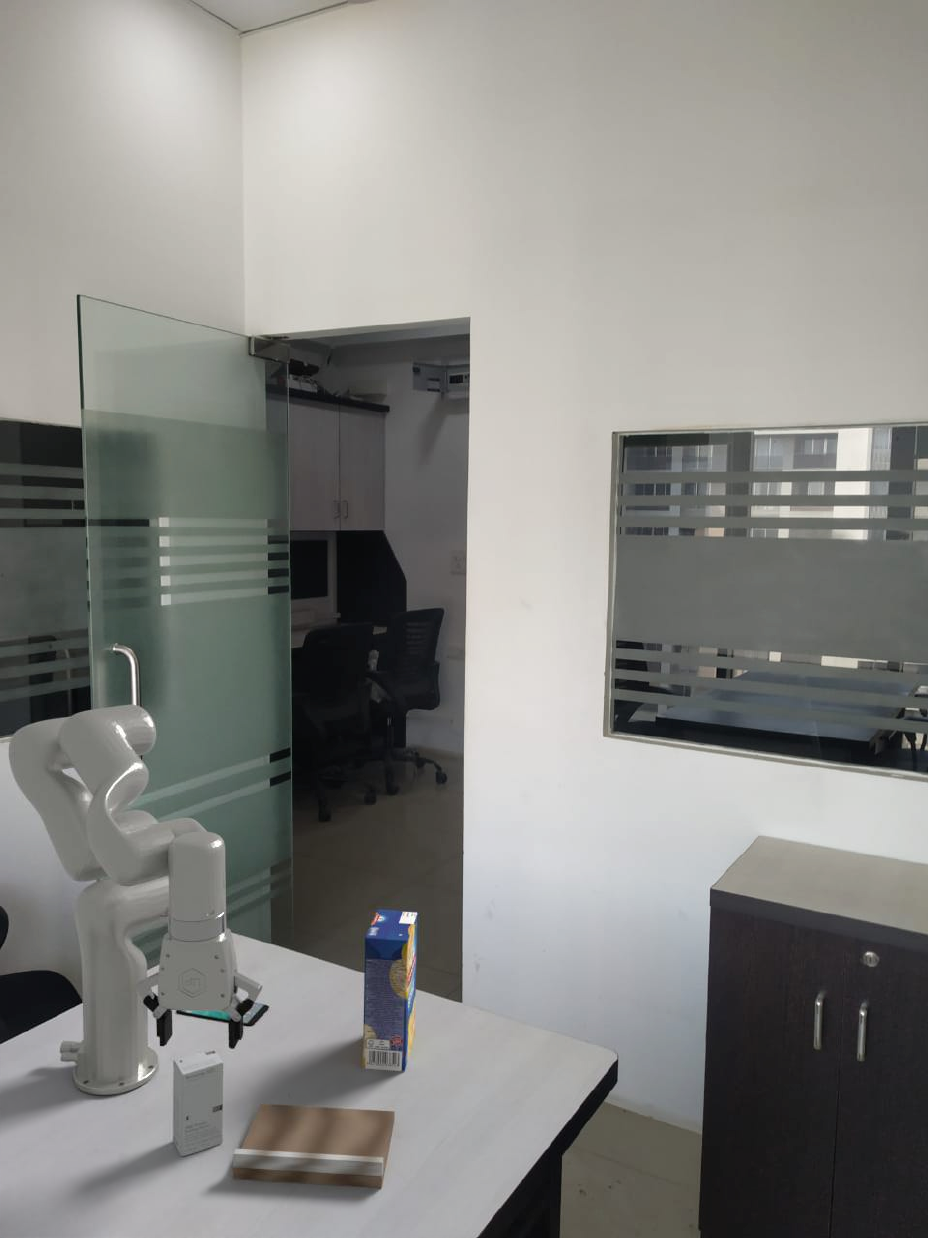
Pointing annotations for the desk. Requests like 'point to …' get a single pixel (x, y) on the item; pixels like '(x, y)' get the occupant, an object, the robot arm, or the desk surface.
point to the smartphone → (223, 1016)
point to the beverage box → (389, 990)
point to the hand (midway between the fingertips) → (200, 1042)
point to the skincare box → (197, 1102)
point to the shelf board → (316, 1146)
